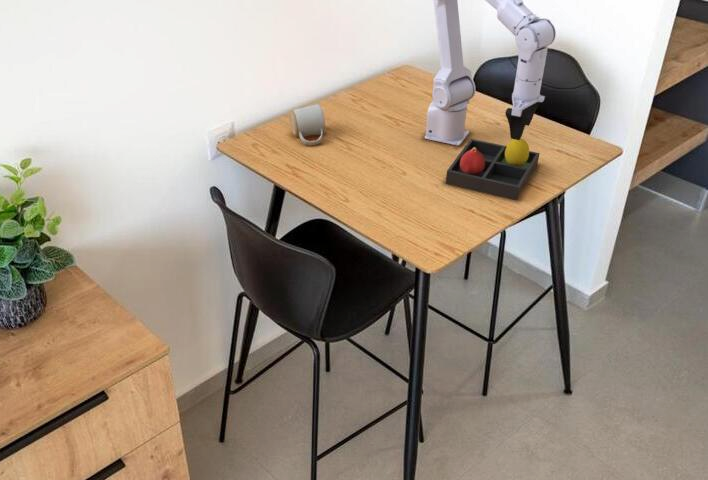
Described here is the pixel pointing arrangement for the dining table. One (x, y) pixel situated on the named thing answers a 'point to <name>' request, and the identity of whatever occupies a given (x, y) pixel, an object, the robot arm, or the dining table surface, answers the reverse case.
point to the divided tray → (493, 171)
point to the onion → (472, 162)
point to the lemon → (517, 152)
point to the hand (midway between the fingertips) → (520, 131)
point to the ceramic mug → (308, 123)
